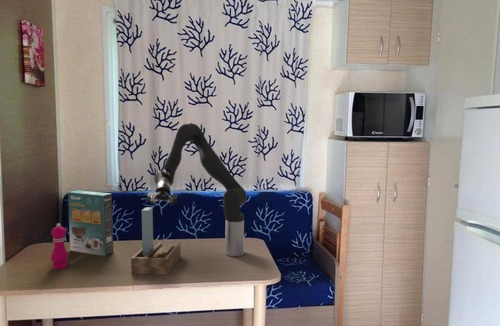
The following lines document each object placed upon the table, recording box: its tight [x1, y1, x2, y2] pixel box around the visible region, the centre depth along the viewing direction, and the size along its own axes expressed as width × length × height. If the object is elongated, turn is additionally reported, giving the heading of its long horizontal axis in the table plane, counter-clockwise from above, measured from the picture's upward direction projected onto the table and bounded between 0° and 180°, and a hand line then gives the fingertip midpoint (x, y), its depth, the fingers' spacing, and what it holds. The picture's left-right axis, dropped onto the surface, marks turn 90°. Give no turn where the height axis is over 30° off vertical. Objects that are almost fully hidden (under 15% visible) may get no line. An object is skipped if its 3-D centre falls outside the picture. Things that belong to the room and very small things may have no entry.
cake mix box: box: [67, 189, 114, 257], centre depth 203 cm, size 22×6×30 cm, turn 69°
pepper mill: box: [50, 222, 69, 270], centre depth 182 cm, size 7×7×20 cm
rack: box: [130, 241, 182, 276], centre depth 187 cm, size 16×23×7 cm
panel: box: [141, 206, 154, 257], centre depth 187 cm, size 3×6×26 cm, turn 175°
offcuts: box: [152, 243, 175, 258], centre depth 187 cm, size 7×13×8 cm, turn 175°
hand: (161, 203), depth 193 cm, fingers open, 8 cm apart
